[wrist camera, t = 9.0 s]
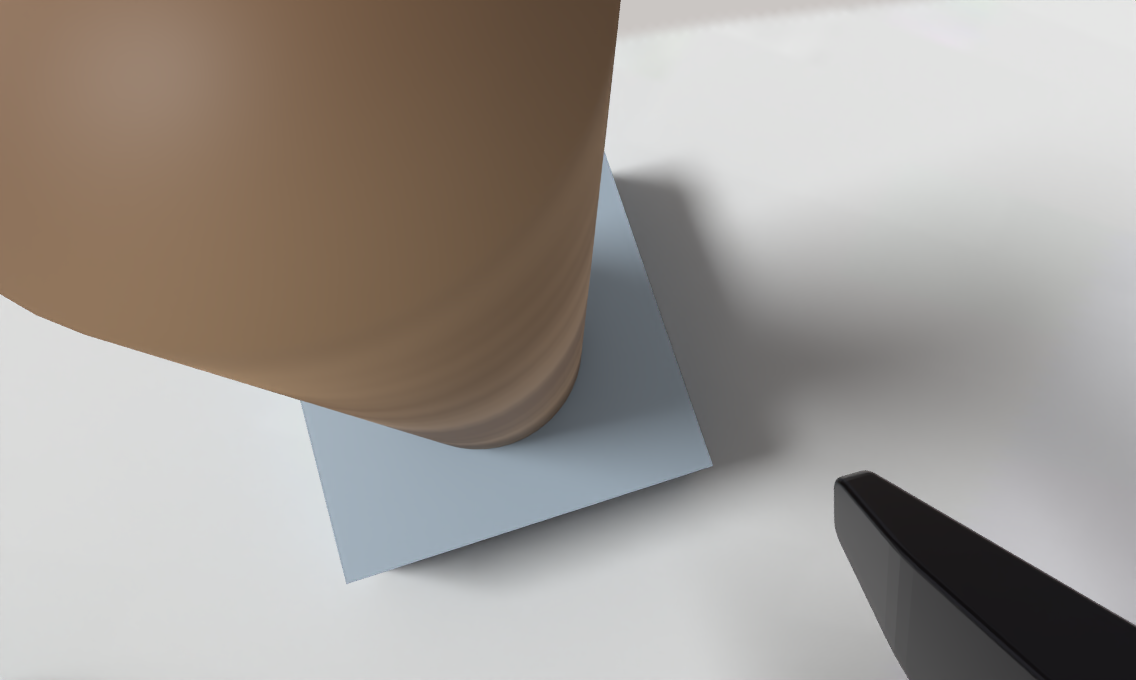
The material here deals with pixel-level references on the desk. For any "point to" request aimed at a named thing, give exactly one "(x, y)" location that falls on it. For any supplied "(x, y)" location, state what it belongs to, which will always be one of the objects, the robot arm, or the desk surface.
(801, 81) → the desk surface
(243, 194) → the walnut pillar
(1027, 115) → the desk surface
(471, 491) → the pale blue square tile
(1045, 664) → the robot arm
